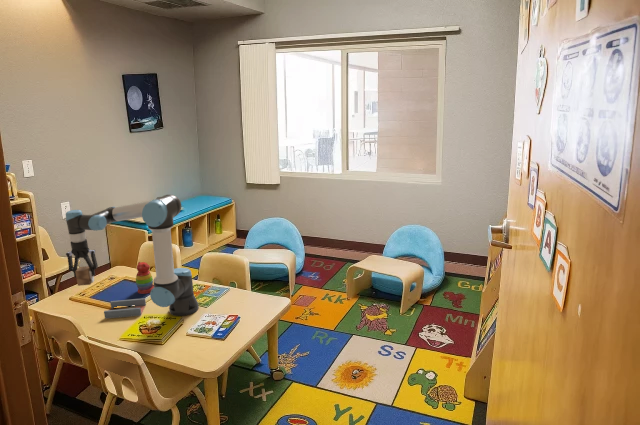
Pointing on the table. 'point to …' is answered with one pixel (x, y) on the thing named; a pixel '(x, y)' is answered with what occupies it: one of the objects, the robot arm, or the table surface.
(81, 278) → the walnut block
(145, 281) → the stacking bear
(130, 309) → the trap trough
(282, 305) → the table surface
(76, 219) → the robot arm
